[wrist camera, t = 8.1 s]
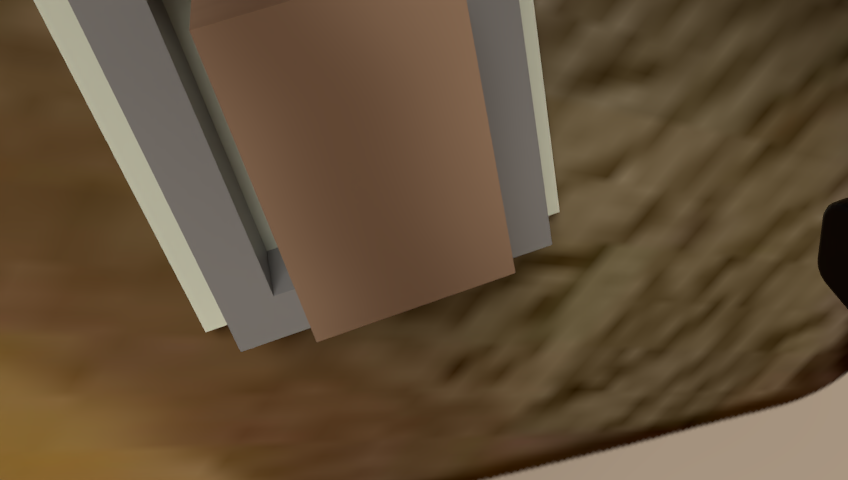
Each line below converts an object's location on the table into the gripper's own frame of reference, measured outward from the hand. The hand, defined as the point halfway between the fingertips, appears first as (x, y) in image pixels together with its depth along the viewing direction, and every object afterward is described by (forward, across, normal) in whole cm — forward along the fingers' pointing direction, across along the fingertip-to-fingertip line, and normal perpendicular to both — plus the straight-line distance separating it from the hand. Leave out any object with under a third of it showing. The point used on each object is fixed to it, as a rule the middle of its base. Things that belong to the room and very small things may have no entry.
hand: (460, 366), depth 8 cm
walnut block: (+10, 0, 0) cm, 10 cm away
